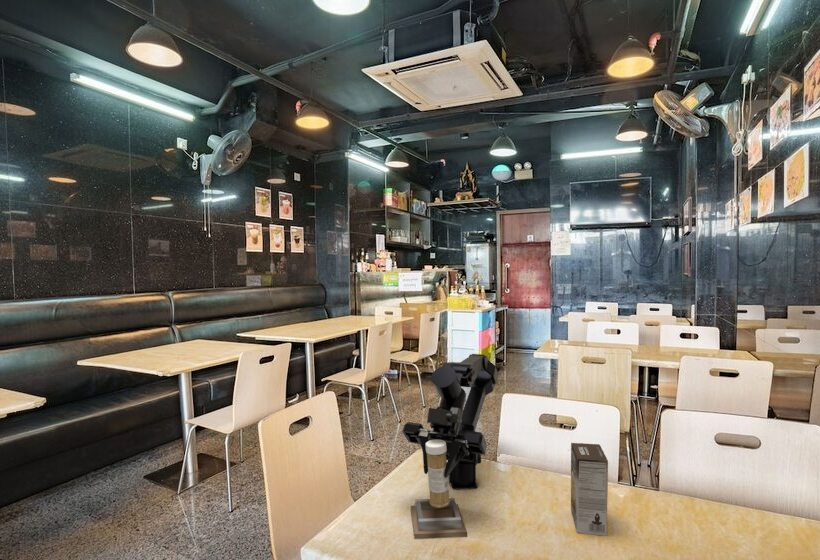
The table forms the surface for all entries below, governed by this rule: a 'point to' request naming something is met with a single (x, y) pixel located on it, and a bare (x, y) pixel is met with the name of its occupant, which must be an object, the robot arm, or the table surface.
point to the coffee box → (589, 488)
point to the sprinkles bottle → (437, 473)
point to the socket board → (437, 520)
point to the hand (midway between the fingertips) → (435, 475)
